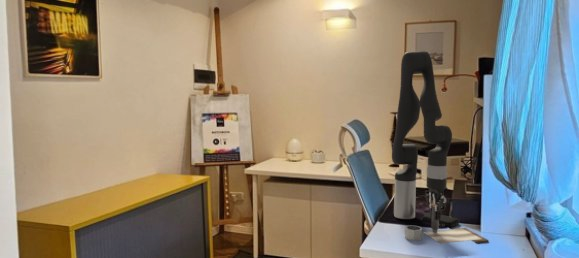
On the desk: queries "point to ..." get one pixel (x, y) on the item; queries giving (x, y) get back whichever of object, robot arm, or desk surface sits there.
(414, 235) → the pen cup
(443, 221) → the carrying case or bag
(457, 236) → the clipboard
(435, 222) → the marker
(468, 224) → the desk surface
